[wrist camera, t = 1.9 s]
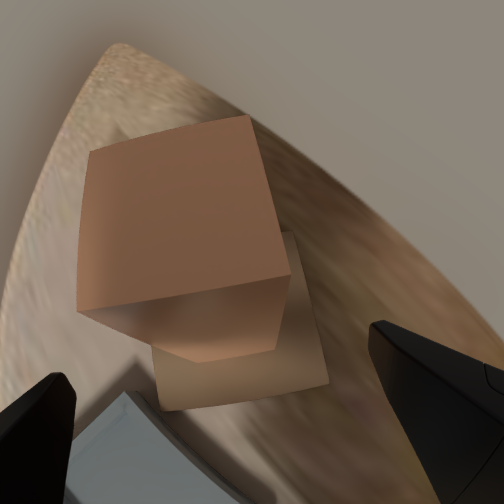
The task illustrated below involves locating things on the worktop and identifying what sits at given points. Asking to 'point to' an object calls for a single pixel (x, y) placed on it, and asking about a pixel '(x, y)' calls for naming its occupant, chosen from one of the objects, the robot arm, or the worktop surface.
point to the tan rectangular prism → (184, 242)
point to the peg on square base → (251, 359)
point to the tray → (140, 462)
